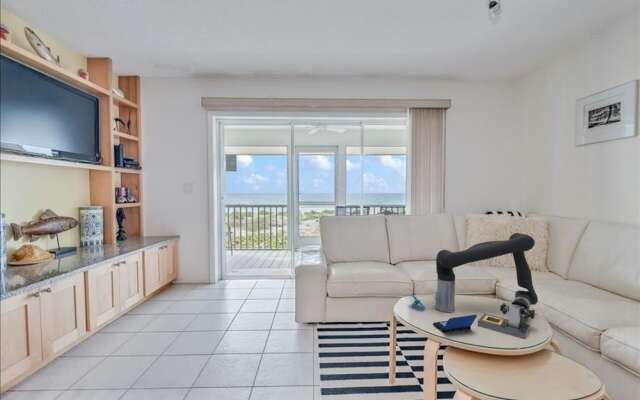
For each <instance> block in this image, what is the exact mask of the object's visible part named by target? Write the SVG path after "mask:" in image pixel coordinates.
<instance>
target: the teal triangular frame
mask: <svg viewBox="0 0 640 400" xmlns="http://www.w3.org/2000/svg"><path fill="white" fill-rule="evenodd" d="M411 297H412V298H413V299H414V300H413V303H411V305H412V306H411V308H412V309H414V308H415V307H416V306H418V305H420V307H422V309H424V310H425V309H426V307H425V305H424V304H423V303H422V302H421V300H420V299H418V298H417V297H416V296H415V295H414V294H412V295H411Z"/></svg>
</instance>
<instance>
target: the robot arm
mask: <svg viewBox="0 0 640 400" xmlns="http://www.w3.org/2000/svg"><path fill="white" fill-rule="evenodd" d="M535 243H536V241H535V239H534V238H533V237H532V236H531V235H528V234H525V233H520V232H515V233H512V234H511V235H510V236H509V239H507V240H492V241H491V240H490V241H483V242H480V243H477V244H473V245H471V246H470V247H468V248H467V249H465V250H461V251H454V252H453V251H450V250H448V249H442V250H439V251H438V253H437V254H436V259H435V264H436V265H435V266H436V267H435V268H436V274H437V276H436V277H437V282H436V283H437V284H436V285H437V287H436V290H437V291H435V306H434V307H435V310H438V311H441V312H442V313H443V312H444V313H453V312H455V308H456V307H455V302H456V301H455V300H456V274H455V272H454V270H453V269H454V268H457V267H461V266H463V265H467V264H470V263H475V262H479V261H480V262H481V261H485V260H486V261H487V260H490V259H493V258H498V257H502V256H506V255H508V254H512V257H513V261H514V264H515V271H516V282H517V285H518V287H520V288H522V289H526V290H520V289H519V290H516V291H515V295H514V296H515V298H514V299H513V301H512V302H511V304H513V305H517V306H520V316H522V317H523V320H524V321H525V320H528V319H533V320H534V319H535V315H536V313H535V311H536V310H535V309H531V310H530V308H531V306H533V305H534V306H535V305H537V303H538V302H539V301H538V300H539V298H538V295H537V293H536V290H535V288H534V286H533V285H534V284H533V279H532V278H533V277H532V271H531V268H530V266H529V264H528V261H527V259H526V256H525V252H527V251H530V250H532V249H533V248H534V247H535V245H536V244H535ZM511 304H509V305H507V304H506V303H502V304H501V305H500V307H499V310H500V312H502V314H503V315H504V316H505V315H507V314H509V306H510V305H511Z"/></svg>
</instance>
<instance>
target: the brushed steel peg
mask: <svg viewBox="0 0 640 400" xmlns="http://www.w3.org/2000/svg"><path fill="white" fill-rule="evenodd" d="M509 305H510V306H509ZM509 305H508V306H509V313H508V320H509V323H508V326H509V327H513V328H516V329H520V323H521V315H520V306H517V305H513V304H512V303H510V304H509Z"/></svg>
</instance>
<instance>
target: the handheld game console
mask: <svg viewBox="0 0 640 400" xmlns="http://www.w3.org/2000/svg"><path fill="white" fill-rule="evenodd" d="M477 317H478V315H477V314H470V315H464V316H463V315H462V316H455V317H450V318H449V319H448V320H444V321H437V322H433V323H432V326H433V327H434V328H437V330H439V331H440V332H442V333H443V334H446V333H454V332H457V331H458V332H459V331H460V332H461V331H467V330H469V331H470V330H471V329H472V325H473V324H474V322H475V320H476V318H477Z"/></svg>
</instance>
